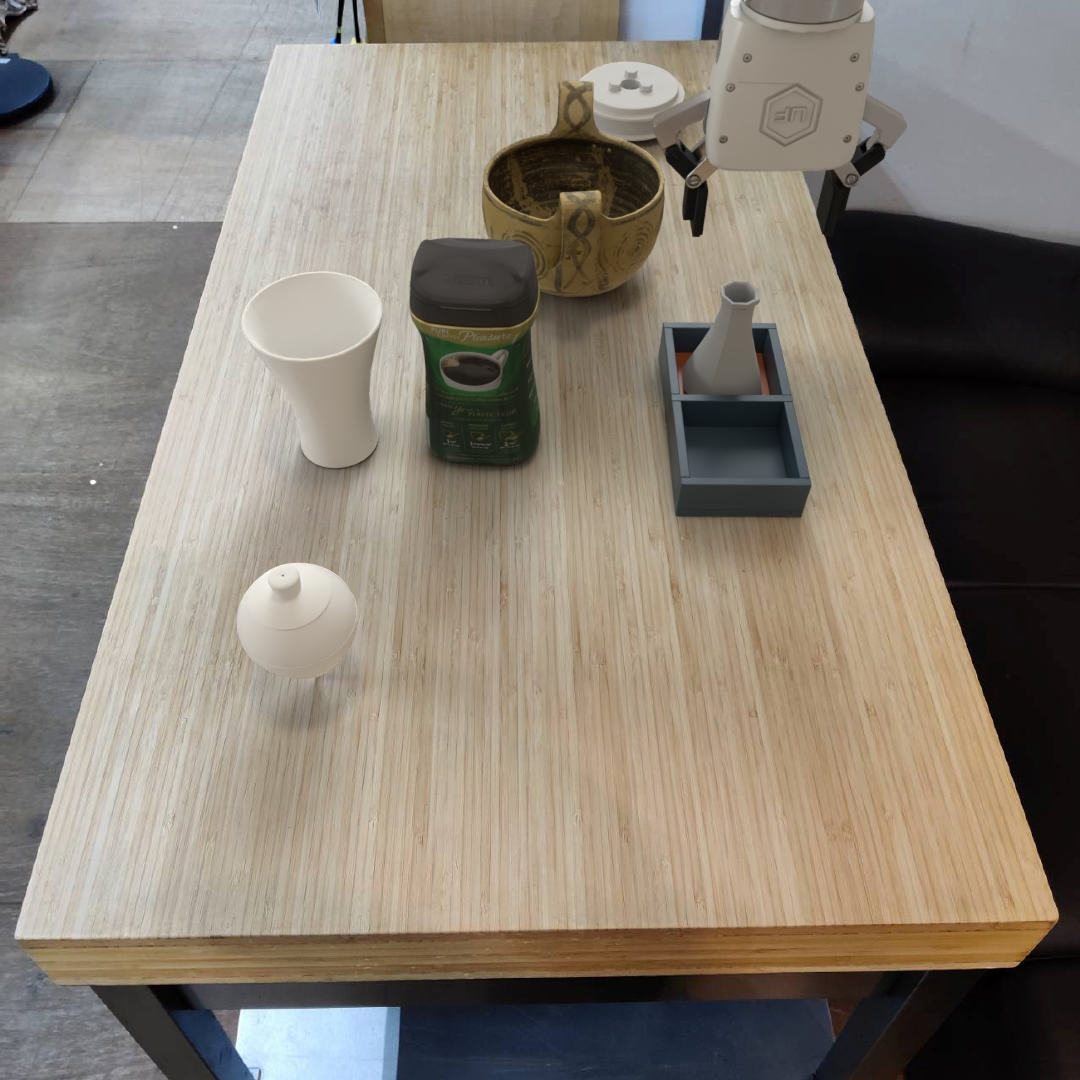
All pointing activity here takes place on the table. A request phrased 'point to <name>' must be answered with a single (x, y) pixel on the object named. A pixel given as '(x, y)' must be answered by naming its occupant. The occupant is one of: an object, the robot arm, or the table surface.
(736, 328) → the flask
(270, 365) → the cup
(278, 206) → the table surface
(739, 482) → the divided tray
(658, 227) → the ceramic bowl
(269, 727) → the table surface
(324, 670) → the spinning top
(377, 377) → the table surface
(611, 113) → the lid
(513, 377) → the coffee jar
